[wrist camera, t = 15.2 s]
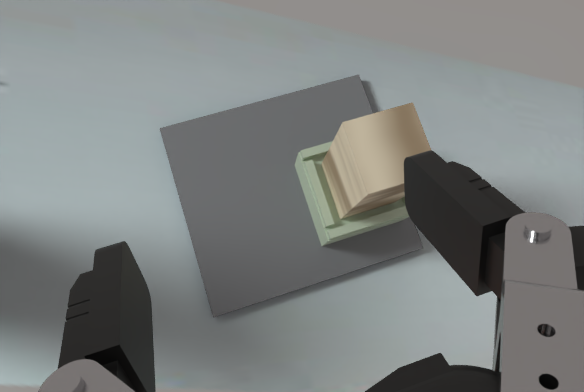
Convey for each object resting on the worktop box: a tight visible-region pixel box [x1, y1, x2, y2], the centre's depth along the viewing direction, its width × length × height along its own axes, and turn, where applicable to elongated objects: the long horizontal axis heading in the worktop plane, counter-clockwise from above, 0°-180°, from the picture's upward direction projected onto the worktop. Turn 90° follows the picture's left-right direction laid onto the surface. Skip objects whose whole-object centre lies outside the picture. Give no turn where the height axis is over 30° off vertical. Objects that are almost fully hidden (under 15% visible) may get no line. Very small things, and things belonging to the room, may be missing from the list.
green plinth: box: [295, 141, 409, 246], centre depth 42 cm, size 8×8×5 cm
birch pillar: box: [321, 103, 431, 219], centre depth 36 cm, size 5×5×10 cm
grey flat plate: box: [160, 75, 423, 317], centre depth 45 cm, size 20×18×1 cm
